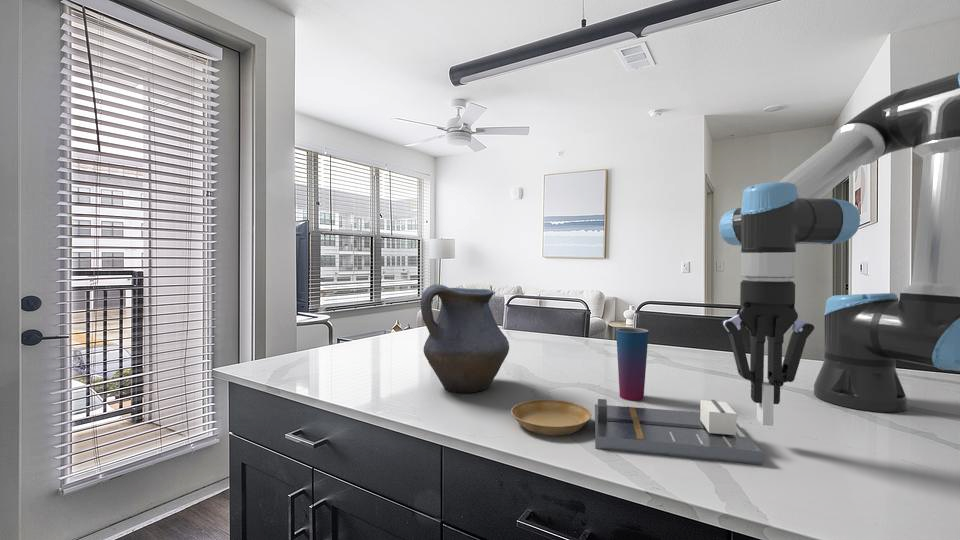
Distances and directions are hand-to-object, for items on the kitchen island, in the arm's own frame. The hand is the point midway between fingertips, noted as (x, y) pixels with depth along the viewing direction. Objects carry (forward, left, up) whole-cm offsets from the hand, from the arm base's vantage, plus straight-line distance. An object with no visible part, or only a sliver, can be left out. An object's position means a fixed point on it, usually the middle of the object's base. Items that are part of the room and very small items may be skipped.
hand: (764, 422), depth 73 cm
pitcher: (+57, -19, -4) cm, 60 cm away
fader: (+7, 0, -2) cm, 7 cm away
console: (+15, 0, -4) cm, 15 cm away
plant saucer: (+35, -1, -4) cm, 35 cm away
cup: (+19, -21, -4) cm, 29 cm away
